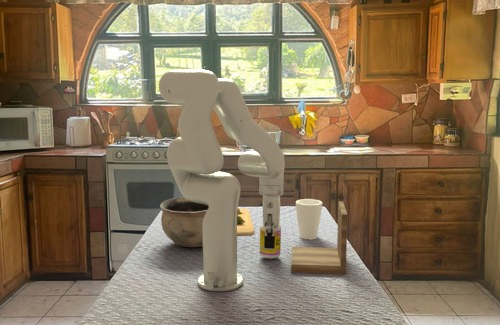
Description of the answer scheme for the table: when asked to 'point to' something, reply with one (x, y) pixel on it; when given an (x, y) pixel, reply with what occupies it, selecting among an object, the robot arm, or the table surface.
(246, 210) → the cutting board
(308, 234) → the foam cup
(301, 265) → the wooden bookend
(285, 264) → the table surface
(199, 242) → the ceramic bowl
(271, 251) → the supplement bottle
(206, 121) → the robot arm
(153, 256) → the table surface
